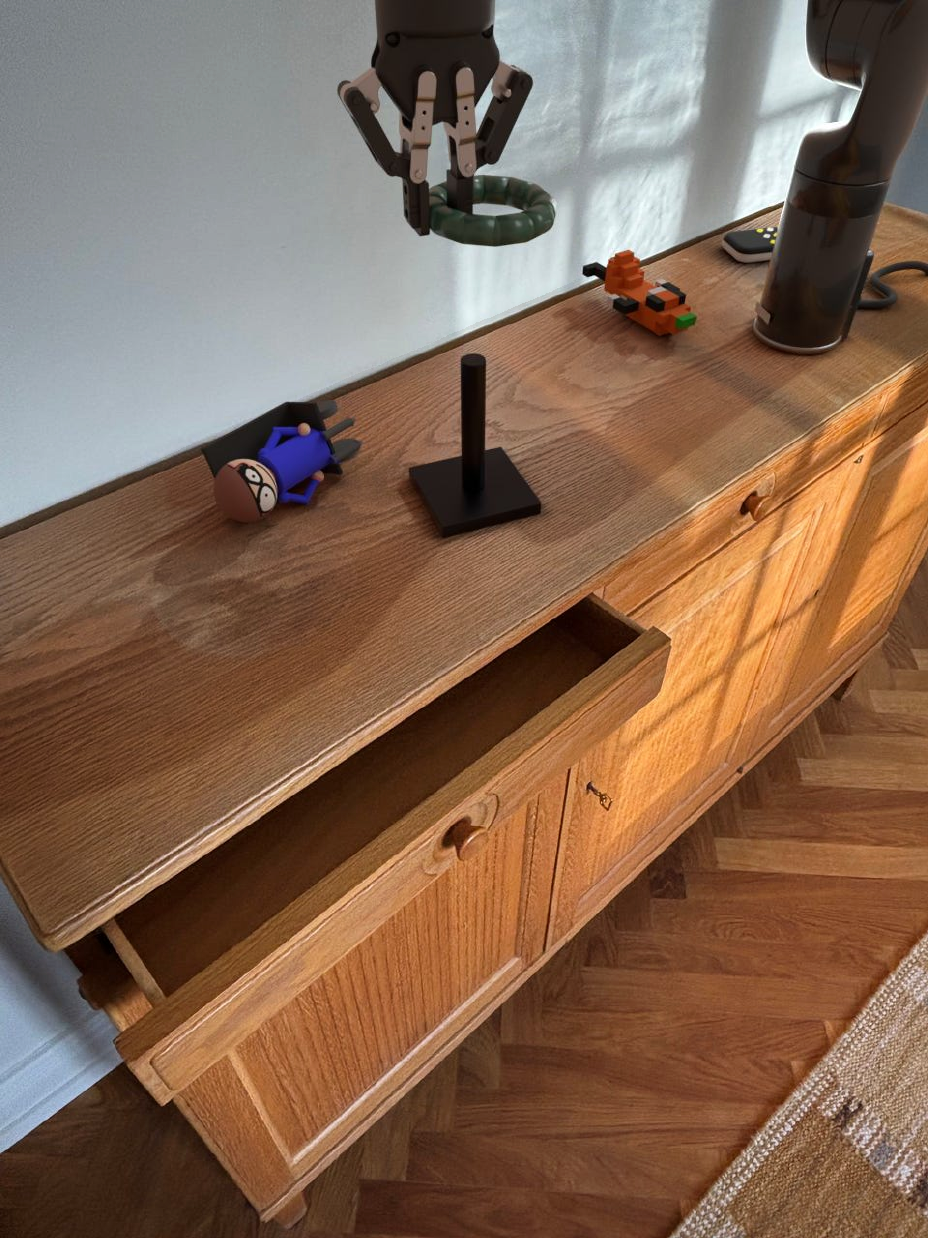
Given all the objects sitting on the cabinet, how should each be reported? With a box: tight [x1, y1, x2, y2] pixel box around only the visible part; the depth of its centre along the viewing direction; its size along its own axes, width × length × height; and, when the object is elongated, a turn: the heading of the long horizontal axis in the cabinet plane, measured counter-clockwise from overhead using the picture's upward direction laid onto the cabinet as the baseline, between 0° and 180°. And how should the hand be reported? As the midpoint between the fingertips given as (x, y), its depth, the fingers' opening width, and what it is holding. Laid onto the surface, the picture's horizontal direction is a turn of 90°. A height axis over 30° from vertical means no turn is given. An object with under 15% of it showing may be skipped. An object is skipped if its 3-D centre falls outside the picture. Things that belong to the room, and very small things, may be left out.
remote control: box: [721, 225, 779, 264], centre depth 112 cm, size 6×13×2 cm, turn 104°
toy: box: [581, 249, 697, 337], centre depth 98 cm, size 8×6×15 cm
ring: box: [429, 174, 558, 248], centre depth 64 cm, size 10×10×2 cm
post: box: [408, 352, 542, 539], centre depth 72 cm, size 9×9×13 cm
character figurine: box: [200, 399, 364, 523], centre depth 74 cm, size 8×7×15 cm
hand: (439, 228), depth 64 cm, fingers closed on ring, 2 cm apart
